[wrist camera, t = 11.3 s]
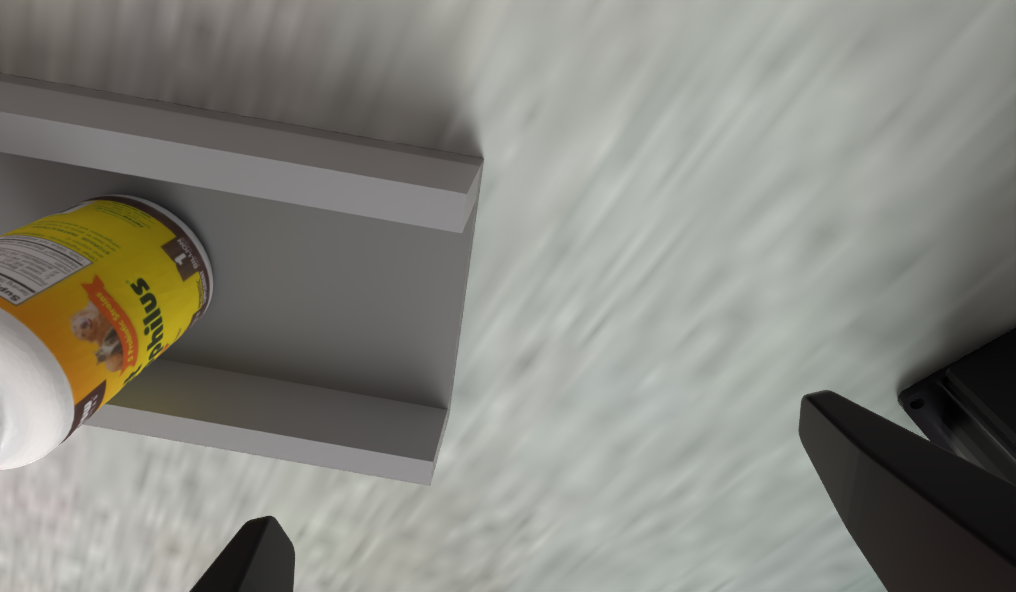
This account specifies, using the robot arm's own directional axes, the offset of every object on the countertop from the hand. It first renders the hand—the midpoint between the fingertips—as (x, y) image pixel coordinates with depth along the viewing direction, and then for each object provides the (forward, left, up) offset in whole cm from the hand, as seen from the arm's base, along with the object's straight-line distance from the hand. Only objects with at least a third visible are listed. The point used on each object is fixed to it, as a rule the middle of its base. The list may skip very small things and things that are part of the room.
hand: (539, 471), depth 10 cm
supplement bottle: (+9, +12, -12) cm, 19 cm away
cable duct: (+9, +12, -12) cm, 20 cm away
